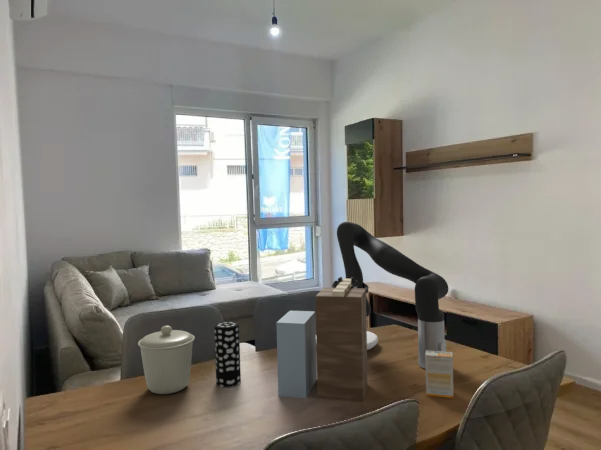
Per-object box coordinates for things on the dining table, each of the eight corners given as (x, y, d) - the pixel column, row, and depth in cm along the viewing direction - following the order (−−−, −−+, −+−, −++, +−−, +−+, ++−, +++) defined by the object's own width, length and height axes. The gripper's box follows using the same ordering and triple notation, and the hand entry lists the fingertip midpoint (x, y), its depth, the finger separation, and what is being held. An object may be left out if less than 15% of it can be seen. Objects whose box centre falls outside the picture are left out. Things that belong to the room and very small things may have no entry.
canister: (158, 405, 139) (155, 337, 138) (129, 389, 151) (127, 327, 150) (207, 386, 152) (205, 324, 151) (177, 373, 164) (175, 316, 163)
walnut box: (326, 380, 155) (324, 287, 153) (367, 383, 151) (365, 288, 150) (317, 398, 141) (315, 296, 140) (362, 401, 138) (361, 297, 136)
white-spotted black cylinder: (245, 379, 157) (243, 322, 156) (231, 388, 150) (230, 328, 149) (225, 376, 161) (223, 320, 160) (211, 385, 153) (209, 326, 152)
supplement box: (453, 392, 143) (453, 351, 142) (453, 399, 138) (453, 356, 138) (426, 389, 145) (426, 349, 145) (425, 395, 141) (425, 354, 140)
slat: (344, 282, 162) (344, 278, 161) (353, 282, 161) (353, 278, 161) (332, 296, 138) (332, 291, 138) (343, 296, 137) (343, 291, 137)
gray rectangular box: (291, 377, 159) (289, 310, 158) (316, 378, 156) (315, 311, 155) (278, 396, 143) (276, 322, 142) (306, 398, 141) (304, 323, 140)
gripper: (334, 285, 173) (326, 269, 158) (371, 286, 169) (367, 269, 155) (333, 304, 170) (325, 289, 155) (371, 306, 166) (366, 290, 151)
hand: (346, 279), depth 155 cm, fingers closed on slat, 3 cm apart
